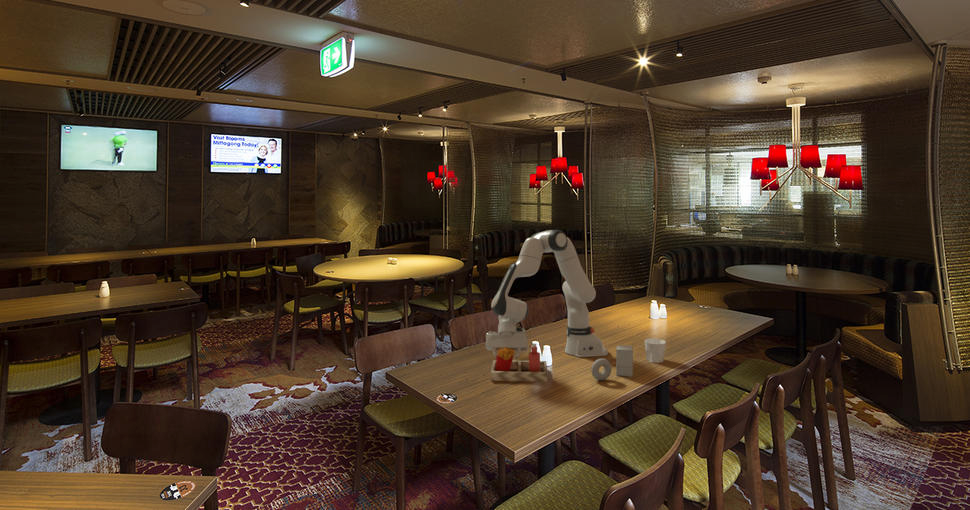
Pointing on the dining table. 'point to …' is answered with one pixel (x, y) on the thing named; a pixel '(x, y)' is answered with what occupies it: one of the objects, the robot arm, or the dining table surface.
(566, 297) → the robot arm
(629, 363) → the supplement box
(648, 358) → the cup
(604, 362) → the donut
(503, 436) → the dining table surface
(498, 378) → the caddy
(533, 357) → the ketchup bottle
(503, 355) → the french fries
